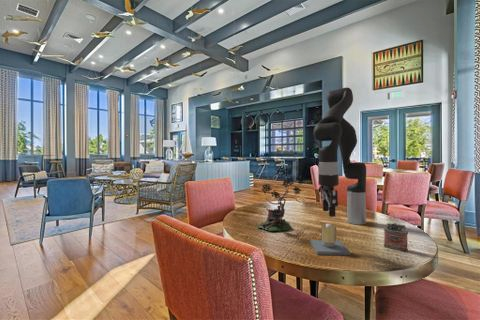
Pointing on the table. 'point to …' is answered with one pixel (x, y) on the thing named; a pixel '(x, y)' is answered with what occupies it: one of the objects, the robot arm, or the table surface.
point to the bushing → (328, 233)
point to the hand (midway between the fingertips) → (328, 213)
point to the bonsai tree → (276, 216)
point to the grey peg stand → (329, 247)
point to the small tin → (395, 237)
